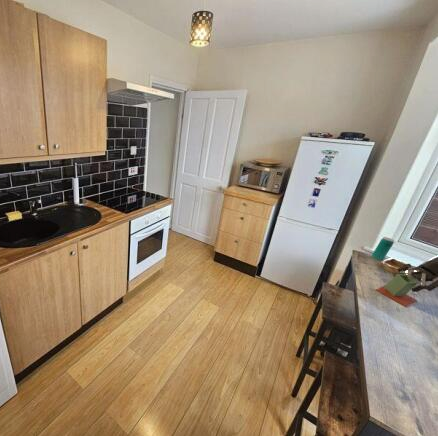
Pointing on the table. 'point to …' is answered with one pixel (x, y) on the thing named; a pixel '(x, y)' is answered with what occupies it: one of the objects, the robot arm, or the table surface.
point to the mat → (397, 297)
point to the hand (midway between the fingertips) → (403, 284)
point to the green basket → (400, 285)
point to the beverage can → (382, 248)
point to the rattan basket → (392, 265)
